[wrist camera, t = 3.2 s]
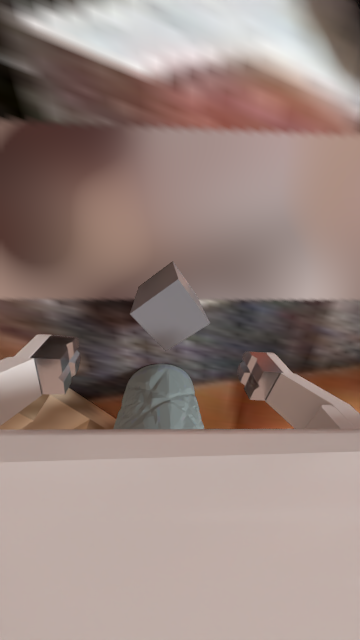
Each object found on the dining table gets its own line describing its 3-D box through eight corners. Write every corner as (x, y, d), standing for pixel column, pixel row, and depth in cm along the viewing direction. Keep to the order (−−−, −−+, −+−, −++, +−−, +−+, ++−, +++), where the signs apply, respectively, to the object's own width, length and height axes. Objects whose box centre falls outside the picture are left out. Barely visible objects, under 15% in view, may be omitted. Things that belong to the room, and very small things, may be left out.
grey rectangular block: (196, 294, 19) (210, 323, 13) (164, 316, 20) (165, 351, 14) (172, 261, 17) (178, 279, 12) (138, 286, 18) (129, 314, 13)
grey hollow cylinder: (210, 393, 26) (245, 514, 15) (150, 424, 27) (144, 550, 17) (169, 344, 21) (178, 466, 11) (100, 384, 23) (50, 522, 12)
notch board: (117, 420, 26) (109, 459, 22) (77, 443, 28) (61, 484, 23) (26, 359, 20) (-12, 397, 16) (-19, 393, 22) (-64, 436, 17)
